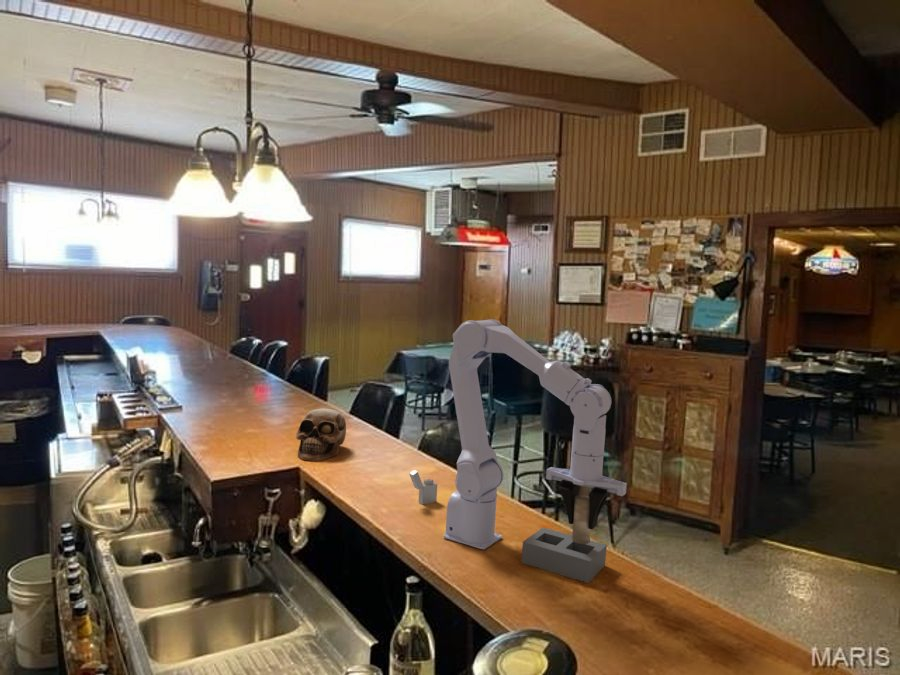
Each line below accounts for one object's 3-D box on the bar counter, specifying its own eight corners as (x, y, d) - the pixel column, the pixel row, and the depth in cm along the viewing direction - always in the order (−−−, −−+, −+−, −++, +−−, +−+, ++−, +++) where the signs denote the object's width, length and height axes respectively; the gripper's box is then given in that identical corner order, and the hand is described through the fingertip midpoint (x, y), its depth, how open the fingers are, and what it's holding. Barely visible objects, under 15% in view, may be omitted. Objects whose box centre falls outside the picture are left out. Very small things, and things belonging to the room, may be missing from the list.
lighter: (432, 499, 152) (434, 466, 151) (436, 501, 151) (438, 468, 150) (407, 504, 148) (409, 470, 147) (411, 507, 146) (413, 472, 145)
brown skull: (303, 461, 175) (305, 412, 175) (286, 451, 190) (288, 406, 191) (357, 459, 183) (359, 411, 183) (337, 449, 198) (339, 405, 198)
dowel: (569, 540, 118) (572, 498, 118) (576, 535, 121) (579, 493, 120) (585, 545, 116) (588, 502, 116) (592, 540, 119) (595, 498, 118)
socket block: (521, 562, 120) (522, 541, 120) (541, 546, 128) (542, 527, 128) (588, 583, 114) (590, 561, 113) (605, 565, 121) (606, 544, 121)
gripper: (541, 449, 118) (536, 521, 119) (620, 465, 110) (614, 542, 111) (556, 441, 124) (551, 510, 125) (632, 456, 116) (626, 529, 117)
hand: (582, 524), depth 119 cm, fingers closed on dowel, 3 cm apart
